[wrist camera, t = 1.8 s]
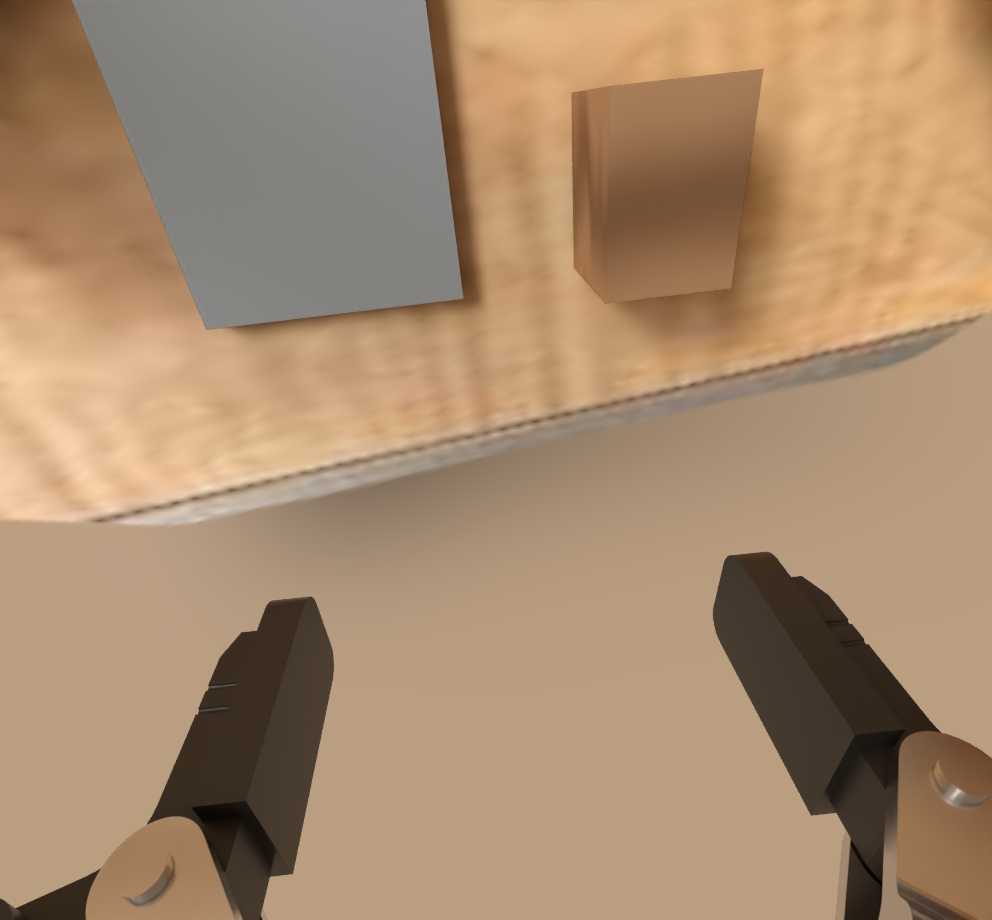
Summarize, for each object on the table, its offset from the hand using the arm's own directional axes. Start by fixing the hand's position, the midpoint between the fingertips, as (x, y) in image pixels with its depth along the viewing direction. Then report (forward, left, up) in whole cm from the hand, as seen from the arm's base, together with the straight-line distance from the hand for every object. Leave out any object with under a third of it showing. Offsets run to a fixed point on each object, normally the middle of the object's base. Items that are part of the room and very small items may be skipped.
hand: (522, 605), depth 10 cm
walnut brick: (-5, +8, -19) cm, 21 cm away
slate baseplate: (-7, -6, -19) cm, 21 cm away
